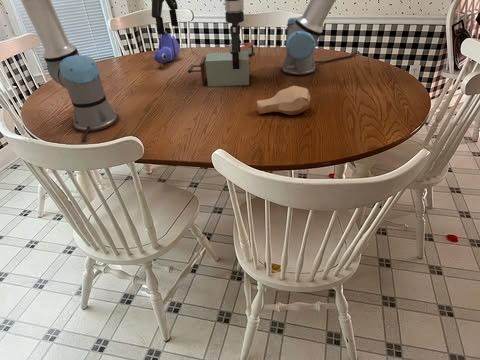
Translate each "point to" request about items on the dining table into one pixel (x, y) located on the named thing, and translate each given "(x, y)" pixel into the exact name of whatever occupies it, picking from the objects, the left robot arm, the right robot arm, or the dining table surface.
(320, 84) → the dining table surface
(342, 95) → the dining table surface
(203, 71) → the drawer
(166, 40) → the toy
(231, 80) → the pale green box
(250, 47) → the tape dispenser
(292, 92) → the squash
